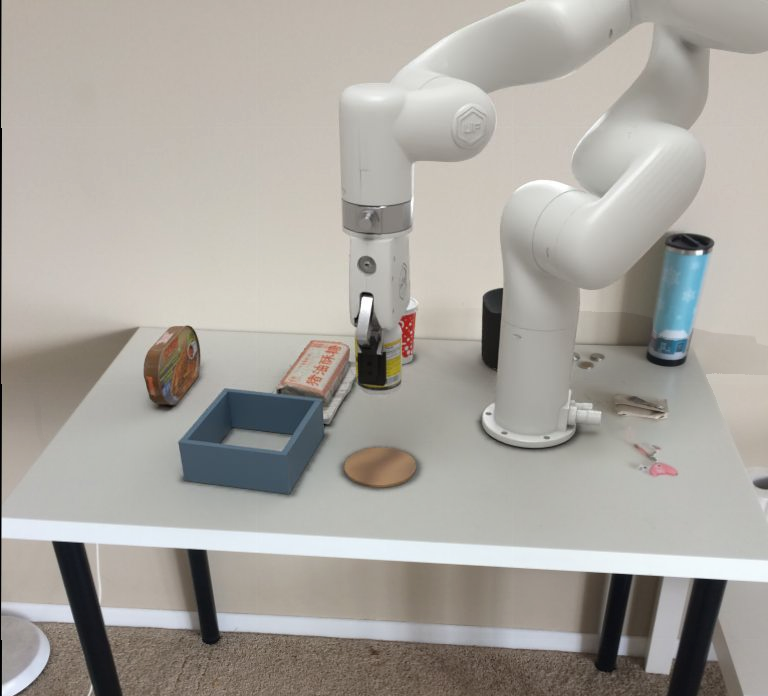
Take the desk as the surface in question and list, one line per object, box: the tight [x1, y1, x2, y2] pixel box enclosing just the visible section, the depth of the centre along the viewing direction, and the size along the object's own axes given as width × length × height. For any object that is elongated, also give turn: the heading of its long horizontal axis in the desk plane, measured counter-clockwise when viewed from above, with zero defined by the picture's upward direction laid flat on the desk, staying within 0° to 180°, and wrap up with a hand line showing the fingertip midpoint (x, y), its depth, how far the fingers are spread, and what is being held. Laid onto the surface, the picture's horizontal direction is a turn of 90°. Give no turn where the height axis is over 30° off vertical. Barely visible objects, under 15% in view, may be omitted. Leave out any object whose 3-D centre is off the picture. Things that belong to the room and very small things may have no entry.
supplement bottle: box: [354, 320, 403, 396], centre depth 100 cm, size 5×5×10 cm
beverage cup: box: [399, 296, 419, 365], centre depth 132 cm, size 6×6×14 cm
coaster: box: [343, 446, 417, 489], centre depth 109 cm, size 9×9×1 cm
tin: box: [143, 324, 202, 406], centre depth 125 cm, size 15×3×8 cm, turn 170°
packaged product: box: [271, 339, 356, 425], centre depth 125 cm, size 18×5×10 cm
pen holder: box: [481, 287, 503, 370], centre depth 132 cm, size 9×9×10 cm
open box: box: [177, 387, 325, 495], centre depth 110 cm, size 14×15×6 cm
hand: (378, 370), depth 101 cm, fingers closed on supplement bottle, 5 cm apart
